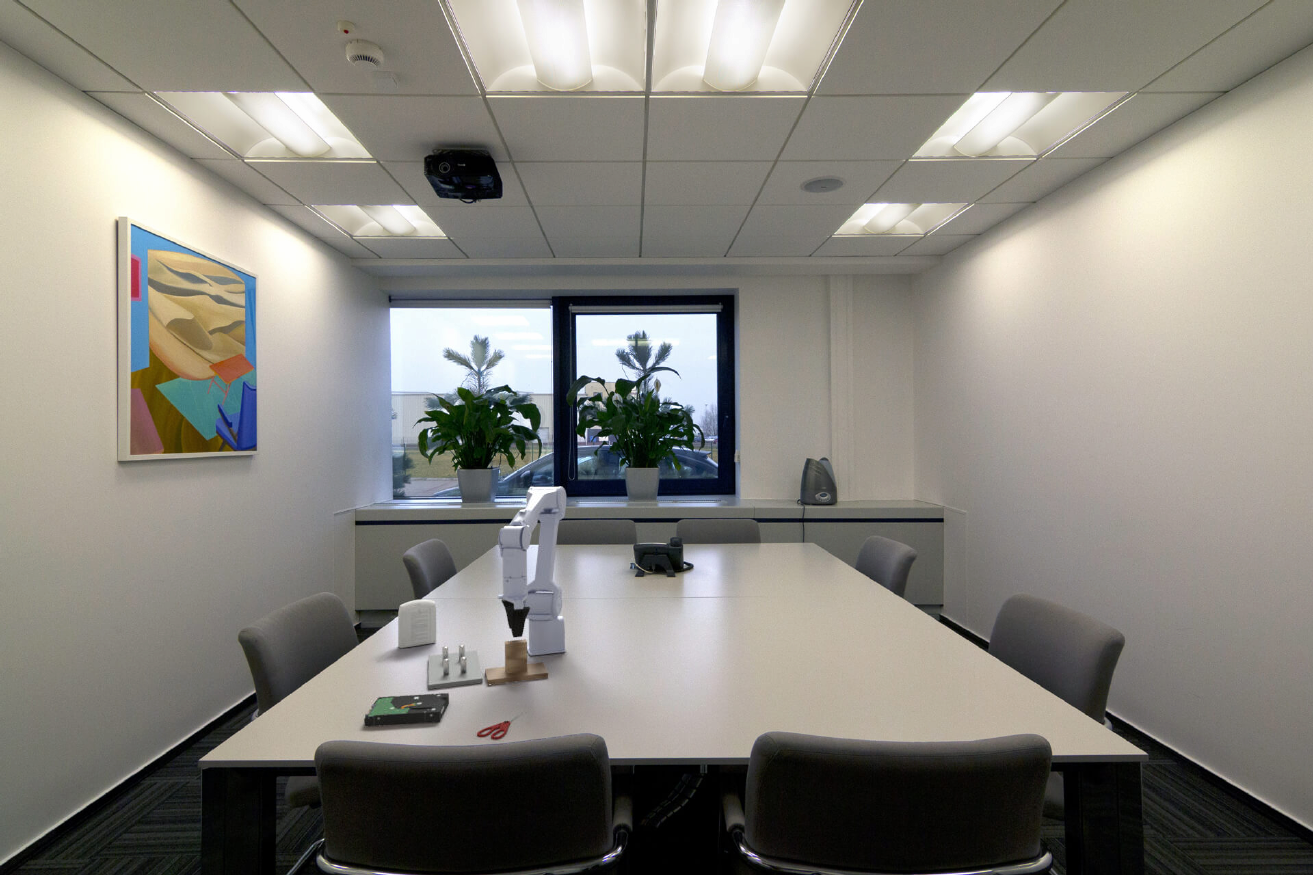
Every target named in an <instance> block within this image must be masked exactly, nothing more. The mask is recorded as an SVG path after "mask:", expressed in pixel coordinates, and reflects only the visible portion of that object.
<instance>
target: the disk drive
mask: <svg viewBox="0 0 1313 875" xmlns="http://www.w3.org/2000/svg"><path fill="white" fill-rule="evenodd" d="M449 703H450V694H449V692H446V693H445V692H444V693H443V692H442V693H440V692H439V693H427V694H426V693H425V694H413V695H411V694H408V695H391V696H379V697H377V699H376V700H375V701H374V702H373V704H371V708H369V710H368V711H367V713H365V714H364V719H363V724H364V725H363V726H368V727H382V726H384V725H385V726H398V725H412V724H413V725H414V724H431V723H432V724H433V723H440V722H441V721H442V718H443V717H444V714H445V712H446V710H447V708H448V706H449ZM379 725H380V726H379Z"/></svg>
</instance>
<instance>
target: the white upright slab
mask: <svg viewBox="0 0 1313 875" xmlns="http://www.w3.org/2000/svg"><path fill="white" fill-rule="evenodd" d="M398 608H399V609H398V615H397V617H398V618H397V619H398V620H397V622H398V624H397V626H398V627H397V634H398V637H397V644H398V645H397V646H398V648H400V649H405V648H410V647H415V646H423V645H428V644H429V645H430V644H435V643H436V642H437V606H436V601H434V600H432V599H415V600H410V601H407V602H404V603H402V604H400V605H399V607H398Z"/></svg>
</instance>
